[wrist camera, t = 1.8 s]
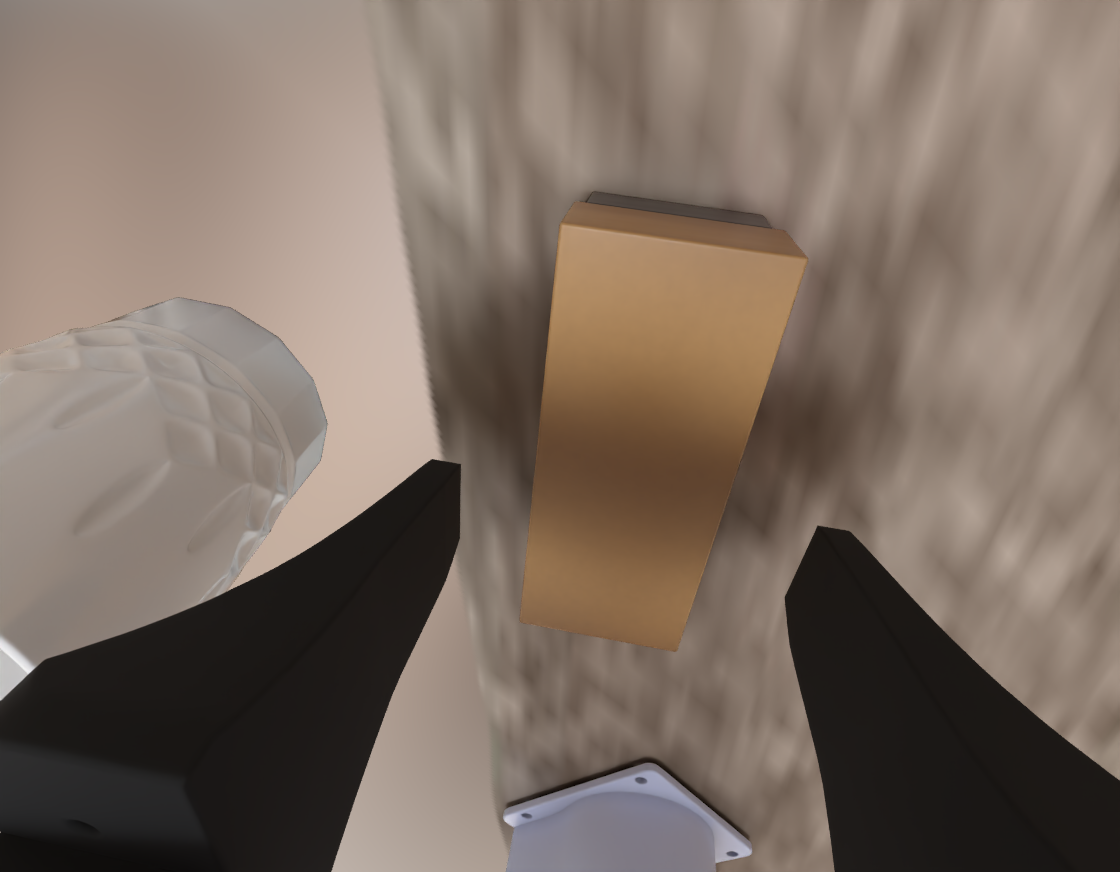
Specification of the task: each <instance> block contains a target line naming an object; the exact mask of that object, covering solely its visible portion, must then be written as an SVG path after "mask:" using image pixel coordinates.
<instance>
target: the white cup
mask: <svg viewBox="0 0 1120 872" xmlns="http://www.w3.org/2000/svg"><path fill="white" fill-rule="evenodd" d="M326 429H327V420H326V417H325V414H324V411H323V408H322V404H321V401H320V398H319V395H318V392H317V389H316V386H315V383H314V380H313V379H312V377H311V376H310V375H309V374H308V372H307V371H306V370H305V369H304V368H303V366H302V365H301V364H300V363H299V361H298V360H297V359H296V358H295V357H294V356H293V354H292V353H291V352H290V351H289V349H288V348H287V347H286V346H285V344H284V343H283V342H282V341H281V340H280V339H279V338H278V337H277V336H276V335H274V334H272V333H271V332H269V331H268V330H266V329H264V328H263V327H261V326H259V325H258V324H256V323H255V322H253V321H252V320H250V319H248V318H247V317H245V316H244V315H242V314H240V313H239V312H237V311H236V310H234V309H232V308H230V307H226V306H221V305H216V304H211V303H206V302H201V301H196V300H191V299H185V298H180V297H178V298H174V299H171V300H168V301H165V302H161V303H158V304H155V305H152V306H149V307H146V308H143V309H140V310H137V311H134V312H131V313H129V314H126V315H123V316H121V317H118V318H116V319H113V320H111V321H108V322H106V323H102V324H98V325H95V326H92V327H90V328H75V329H70V330H67V331H65V332H62V333H59V334H57V335H54V336H52V337H49V338H47V339H45V340H42V341H38V342H35V343H31V344H27V345H24V346H20V347H16V348H12V349H10V350H7V351H5V352H2V353H0V701H1V700H2V699H3V698H4V697H5V696H6V695H7V694H8V693H9V692H10V691H11V690H12V689H13V688H14V687H16V686H17V685H18V684H19V683H20V682H21V681H22V680H23V679H24V678H25V677H26V676H27V675H28V674H29V673H30V672H31V671H32V670H33V669H34V668H36V667H37V666H38V665H39V664H40V663H41V662H42V661H43V660H45V659H47V658H51V657H54V656H57V655H60V654H64V653H67V652H70V651H73V650H76V649H79V648H82V647H85V646H88V645H91V644H94V643H97V642H100V641H103V640H106V639H109V638H112V637H115V636H118V635H121V634H124V633H127V632H129V631H132V630H135V629H138V628H140V627H143V626H146V625H148V624H151V623H154V622H156V621H159V620H161V619H164V618H167V617H169V616H172V615H174V614H177V613H179V612H182V611H184V610H186V609H189V608H191V607H194V606H196V605H198V604H201V603H203V602H205V601H208V600H210V599H212V598H214V597H216V596H219V595H221V594H223V593H225V592H227V590H228V589H229V588H230V587H231V585H232V584H233V582H234V581H235V580H236V579H237V577H238V576H239V574H240V573H241V571H242V569H243V568H244V566H245V565H246V563H247V562H248V561H249V559H250V558H251V557H252V556H253V554H254V553H255V552H256V550H257V549H258V548H259V546H260V545H261V544H262V542H263V541H264V539H265V538H266V537H267V535H268V534H269V532H270V531H271V529H272V527H273V525H274V523H275V521H276V519H277V518H278V516H279V514H280V512H281V510H282V509H283V508H284V506H285V505H286V504H287V503H288V501H289V500H290V499H291V497H292V496H293V495H294V494H295V493H296V491H297V490H298V489H299V488H300V486H301V485H302V484H303V482H304V481H305V480H306V479H307V478H308V476H309V475H310V474H311V472H312V471H313V470H314V469H315V467H316V466H317V465H318V463H319V462H320V460H321V457H322V451H323V446H324V440H325V435H326Z"/></svg>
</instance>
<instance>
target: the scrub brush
mask: <svg viewBox="0 0 1120 872" xmlns="http://www.w3.org/2000/svg"><path fill="white" fill-rule="evenodd" d="M807 262H808V258H807V256H806V255H805V254H804V253H803V252H802V250H801V249H800V248H799V247H798V246H797V244H796V243H795V242H794V241H793V239H792V238H791V237H790V236H789V235H788V233H787V232H786V231H784V230H777V229H773V228H772V227H771V225H770V224H769V223H768V221H767V220H766V219H765V217H764V216H762V215H757V214H749V213H742V212H735V211H728V210H721V209H713V208H706V207H699V206H692V205H685V204H678V203H670V202H663V201H656V200H649V199H642V198H635V197H627V196H620V195H613V194H606V193H599V192H592V194H591V196H590V197H589V199H588V201H587V203H585V202H578V201H576V202H574V203H573V205H572V206H571V208H570V209H569V211H568V212H567V214H566V215H565V217H564V218H563V220H562V221H561V223H560V225H559V235H558V245H557V255H556V265H555V275H554V284H553V294H552V304H551V314H550V324H549V334H548V344H547V354H546V363H545V373H544V383H543V393H542V403H541V413H540V423H539V433H538V442H537V452H536V462H535V472H534V482H533V492H532V502H531V512H530V521H529V531H528V541H527V551H526V561H525V571H524V581H523V591H522V600H521V610H520V622H521V623H526V624H531V625H536V626H541V627H547V628H552V629H557V630H563V631H568V632H573V633H578V634H584V635H589V636H594V637H600V638H605V639H610V640H615V641H621V642H626V643H631V644H636V645H642V646H647V647H652V648H658V649H663V650H668V651H673V652H676V651H677V649H678V646H679V643H680V641H681V638H682V635H683V632H684V629H685V626H686V623H687V620H688V617H689V614H690V611H691V608H692V605H693V602H694V599H695V596H696V593H697V590H698V587H699V584H700V581H701V578H702V575H703V572H704V569H705V566H706V563H707V560H708V557H709V554H710V551H711V548H712V545H713V542H714V539H715V536H716V533H717V530H718V527H719V524H720V521H721V518H722V515H723V512H724V509H725V506H726V503H727V501H728V498H729V495H730V492H731V489H732V486H733V483H734V480H735V477H736V474H737V471H738V468H739V465H740V462H741V459H742V456H743V453H744V450H745V447H746V444H747V441H748V438H749V435H750V432H751V429H752V426H753V423H754V420H755V417H756V414H757V411H758V408H759V405H760V402H761V399H762V396H763V393H764V390H765V387H766V384H767V381H768V378H769V375H770V372H771V369H772V366H773V363H774V361H775V358H776V355H777V352H778V349H779V346H780V343H781V340H782V337H783V334H784V331H785V328H786V325H787V322H788V319H789V316H790V313H791V310H792V307H793V304H794V301H795V298H796V295H797V292H798V289H799V286H800V283H801V280H802V277H803V274H804V271H805V268H806V265H807Z"/></svg>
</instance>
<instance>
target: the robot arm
mask: <svg viewBox="0 0 1120 872" xmlns="http://www.w3.org/2000/svg"><path fill="white" fill-rule="evenodd" d="M460 483H461V464H457V463H451V462H445V461H440V460H434V459H432V460H430V461H429V462H427V463H426V464H425V465H423V466H422V467H421V468H419V469H418V470H417V471H416V472H414V473H413V474H412V475H411V476H409V477H408V478H407V479H406V480H405V481H403V482H402V483H401V484H399V485H398V486H397V487H396V488H394V489H393V490H392V491H390V492H389V493H388V494H387V495H385V496H384V497H383V498H381V499H380V500H379V501H377V502H376V503H375V504H373V505H372V506H371V507H369V508H368V509H367V510H365V511H364V512H363V513H361V514H360V515H358V516H357V517H356V518H354V519H353V520H351V521H350V522H348V523H347V524H346V525H344V526H343V527H341V528H340V529H338V530H337V531H335V532H334V533H332V534H331V535H329V536H328V537H326V538H325V539H323V540H322V541H320V542H319V543H317V544H316V545H314V546H312V547H311V548H309V549H307V550H306V551H304V552H303V553H301V554H299V555H297V556H296V557H294V558H292V559H290V560H288V561H287V562H285V563H283V564H281V565H279V566H278V567H276V568H274V569H272V570H270V571H268V572H266V573H264V574H263V575H260V576H258V577H256V578H254V579H252V580H250V581H248V582H246V583H244V584H242V585H240V586H237V587H235V588H233V589H231V590H229V591H227V592H225V593H223V594H221V595H219V596H216V597H214V598H212V599H210V600H208V601H205V602H203V603H201V604H198V605H196V606H194V607H191V608H189V609H186V610H184V611H182V612H179V613H177V614H174V615H172V616H169V617H167V618H164V619H161V620H159V621H156V622H154V623H151V624H148V625H146V626H143V627H140V628H138V629H135V630H132V631H129V632H127V633H124V634H121V635H118V636H115V637H112V638H109V639H106V640H103V641H100V642H97V643H94V644H91V645H88V646H85V647H82V648H79V649H76V650H73V651H70V652H67V653H64V654H60V655H57V656H54V657H51V658H47V659H45V660H43V661H42V662H41V663H40V664H39V665H38V666H37V667H36V668H34V669H33V670H32V671H31V672H30V673H29V674H28V675H27V676H26V677H25V678H24V679H23V680H22V681H21V682H20V683H19V684H18V685H17V686H16V687H14V688H13V689H12V690H11V691H10V692H9V693H8V694H7V695H6V696H5V697H4V698H3V699H2V700H1V701H0V832H1V833H0V872H331V871H332V868H333V865H334V861H335V858H336V855H337V852H338V849H339V846H340V843H341V840H342V837H343V834H344V831H345V828H346V825H347V822H348V819H349V816H350V812H351V810H352V807H353V804H354V800H355V797H356V795H357V792H358V789H359V786H360V783H361V780H362V777H363V775H364V772H365V769H366V766H367V763H368V760H369V757H370V754H371V751H372V749H373V746H374V743H375V740H376V737H377V735H378V732H379V729H380V727H381V724H382V721H383V718H384V716H385V713H386V710H387V708H388V705H389V702H390V699H391V696H392V694H393V692H394V690H395V687H396V685H397V683H398V680H399V678H400V675H401V673H402V671H403V669H404V667H405V665H406V663H407V661H408V659H409V657H410V655H411V653H412V651H413V649H414V647H415V644H416V642H417V640H418V638H419V636H420V634H421V632H422V630H423V627H424V626H425V624H426V622H427V619H428V617H429V615H430V613H431V610H432V609H433V607H434V605H435V603H436V600H437V598H438V596H439V594H440V592H441V590H442V587H443V585H444V583H445V581H446V578H447V575H448V573H449V570H450V567H451V564H452V561H453V558H454V555H455V552H456V548H457V545H458V542H459V539H460ZM785 605H786V616H787V626H788V635H789V643H790V648H791V653H792V657H793V661H794V665H795V670H796V674H797V678H798V682H799V686H800V690H801V694H802V698H803V702H804V706H805V710H806V714H807V718H808V722H809V726H810V730H811V734H812V738H813V742H814V746H815V750H816V754H817V758H818V763H819V768H820V773H821V778H822V782H823V789H824V796H825V802H826V809H827V816H828V823H829V830H830V837H831V845H832V853H833V861H834V870H835V872H1120V780H1118V779H1117V778H1115V777H1114V776H1113V775H1111V774H1110V773H1109V772H1107V771H1106V770H1105V769H1104V768H1102V767H1101V766H1100V765H1098V764H1097V763H1096V762H1094V761H1093V760H1092V759H1090V758H1089V757H1088V756H1087V755H1085V754H1084V753H1083V752H1081V751H1080V750H1079V749H1077V748H1076V747H1075V746H1073V745H1072V744H1071V743H1070V742H1068V741H1067V740H1066V739H1064V738H1063V737H1062V736H1061V735H1059V734H1058V733H1057V732H1056V731H1054V730H1053V729H1052V728H1051V727H1049V726H1048V725H1047V724H1046V723H1045V722H1043V721H1042V720H1041V719H1040V718H1038V717H1037V716H1036V715H1035V714H1034V713H1033V712H1031V711H1030V710H1029V709H1028V708H1027V707H1026V706H1024V705H1023V704H1022V703H1021V702H1020V701H1019V700H1017V699H1016V698H1015V697H1014V696H1013V695H1012V694H1010V693H1009V692H1008V691H1007V690H1006V689H1005V688H1003V687H1002V686H1001V685H1000V684H999V683H998V682H997V681H996V680H995V679H993V678H992V677H991V676H990V675H989V674H988V673H987V672H986V671H985V670H984V669H982V668H981V667H980V666H979V665H978V664H977V663H976V662H975V661H974V660H973V659H972V658H971V657H970V656H969V655H968V654H967V653H966V652H965V651H964V650H963V649H962V648H961V647H960V646H959V645H957V644H956V643H955V642H954V641H953V640H952V639H951V638H950V637H949V636H948V635H947V634H946V633H945V632H944V631H943V630H942V629H941V628H940V627H939V626H938V625H937V624H936V623H935V622H934V621H933V619H932V618H931V617H930V616H929V615H928V614H927V613H926V612H925V611H924V610H923V609H922V608H921V607H920V606H919V605H918V604H917V603H916V602H915V601H914V600H913V598H912V597H911V596H910V595H909V594H908V593H907V592H906V591H905V590H904V589H903V588H902V587H901V586H900V584H899V583H898V582H897V581H896V580H895V579H894V578H893V577H892V576H891V575H890V574H889V572H888V571H887V570H886V569H885V568H884V567H883V566H882V565H881V564H880V563H879V562H878V560H877V559H876V558H875V557H874V556H873V555H872V554H871V553H870V552H869V551H868V550H867V549H866V547H865V546H864V545H863V544H862V543H861V542H860V541H859V540H858V539H857V538H856V537H855V536H854V535H853V534H852V533H851V532H850V531H846V530H840V529H834V528H828V527H823V526H817V528H816V531H815V533H814V535H813V537H812V539H811V541H810V544H809V546H808V548H807V550H806V552H805V554H804V557H803V559H802V561H801V563H800V565H799V568H798V570H797V572H796V574H795V576H794V578H793V581H792V583H791V585H790V587H789V589H788V591H787V594H786V596H785ZM503 819H504V821H505V822H506V823H508V824H509V825H511V826H512V827H514V832H513V837H512V842H511V847H510V852H509V858H508V863H507V868H506V872H716V863H718V862H723V861H727V860H732V859H737V858H741V857H746V856H749V855H750V854H751V853H752V845H751V842H750V841H749V840H747V839H746V838H745V837H744V836H743V835H741V834H740V833H739V832H738V831H737V830H735V829H734V828H733V827H732V826H731V825H729V824H728V823H727V822H726V821H725V820H723V819H722V818H721V817H720V816H719V815H717V814H716V813H715V812H714V811H713V810H711V809H710V808H709V807H708V806H706V805H705V804H704V803H703V802H702V801H700V800H699V799H698V798H697V797H696V796H694V795H693V794H692V793H691V792H690V791H688V790H687V789H686V788H685V787H684V786H682V785H681V784H680V783H679V782H678V781H676V780H675V779H674V778H673V777H672V776H670V775H669V774H668V773H667V772H666V771H664V770H663V769H662V768H661V767H659V766H658V765H656V764H654V763H644V764H640V765H637V766H634V767H631V768H628V769H625V770H622V771H619V772H616V773H613V774H610V775H607V776H604V777H601V778H597V779H594V780H591V781H588V782H585V783H582V784H579V785H576V786H573V787H570V788H567V789H564V790H561V791H558V792H555V793H551V794H548V795H545V796H542V797H539V798H536V799H533V800H530V801H527V802H524V803H521V804H518V805H515V806H512V807H508V808H507V809H505V811H504V815H503Z"/></svg>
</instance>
